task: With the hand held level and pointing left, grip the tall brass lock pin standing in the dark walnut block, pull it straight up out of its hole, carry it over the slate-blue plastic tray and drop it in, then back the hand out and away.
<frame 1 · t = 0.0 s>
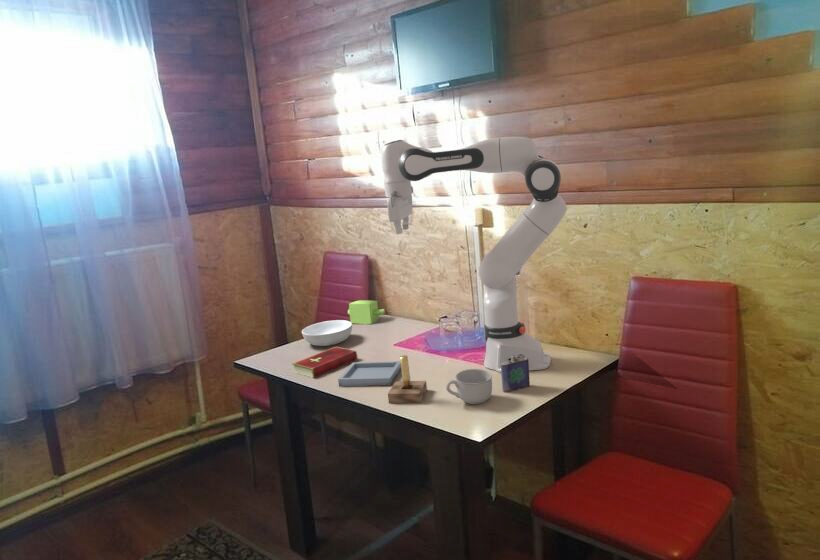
hand: (402, 231, 209), 48 cm above the table, tool pointing down, fingers open, 8 cm apart
teacup: (470, 401, 184), on the table
flask: (516, 389, 189), on the table
tray: (371, 376, 212), on the table
lock pin: (406, 376, 191), in the pin block
serving bowl: (329, 343, 258), on the table
hardcover book: (326, 367, 229), on the table
pin block: (408, 396, 192), on the table
gearbox: (367, 321, 284), on the table
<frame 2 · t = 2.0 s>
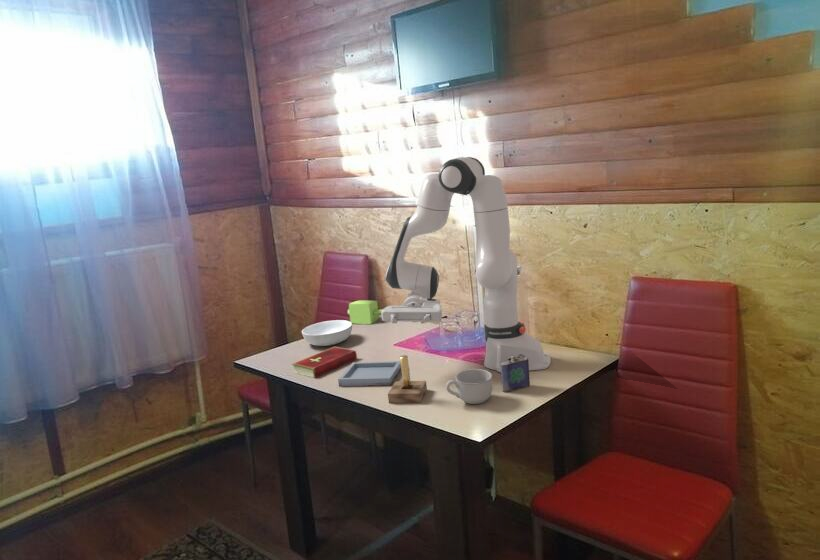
hand: (408, 321, 199), 21 cm above the table, tool horizontal, fingers open, 8 cm apart
nothing on the table moved.
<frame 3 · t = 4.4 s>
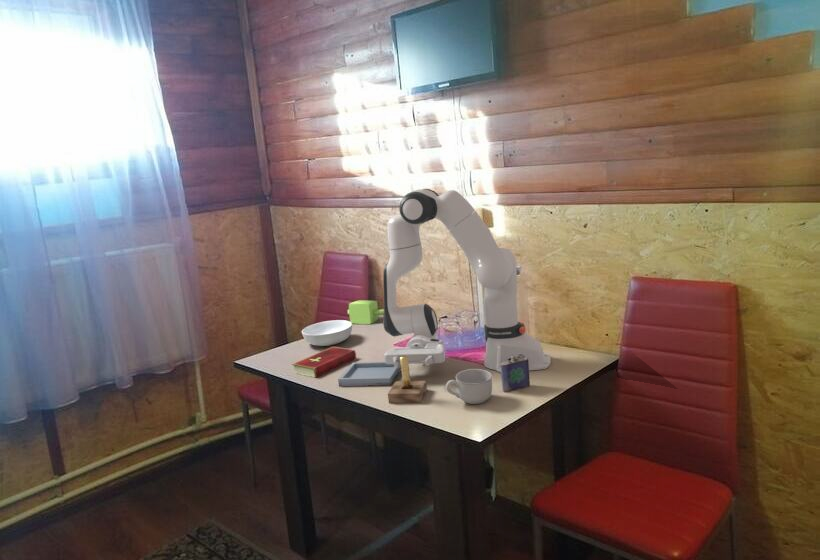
hand: (410, 363, 197), 8 cm above the table, tool horizontal, fingers open, 8 cm apart
nothing on the table moved.
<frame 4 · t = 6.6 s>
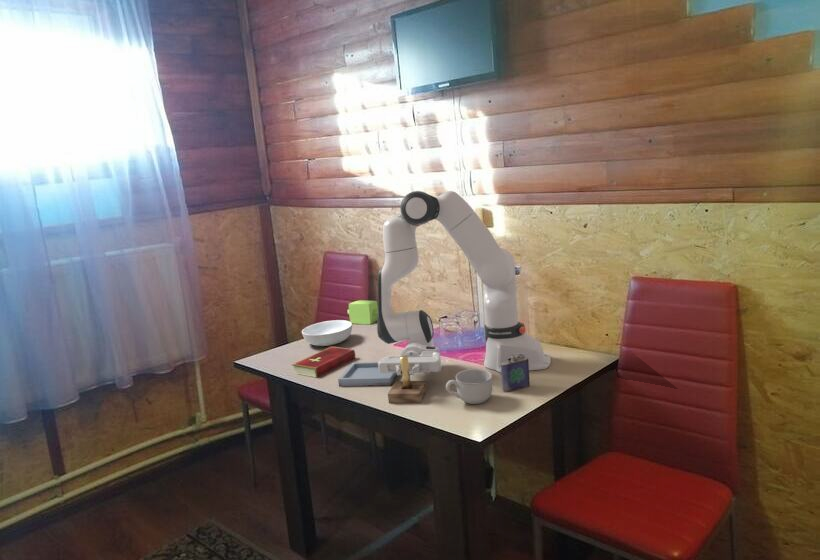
hand: (404, 372, 190), 8 cm above the table, tool horizontal, fingers closed on lock pin, 2 cm apart
lock pin: (406, 376, 191), in the pin block, touching gripper
everything else where it was.
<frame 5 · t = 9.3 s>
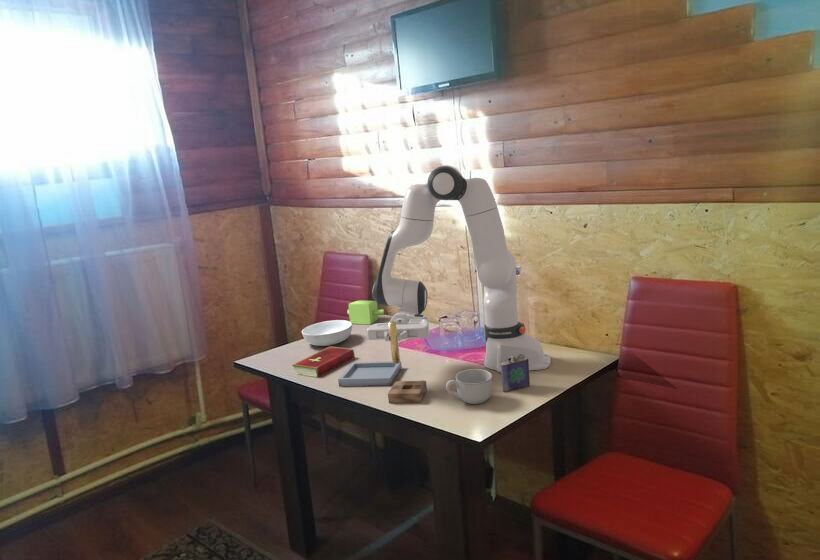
hand: (393, 338, 191), 18 cm above the table, tool horizontal, fingers closed on lock pin, 2 cm apart
lock pin: (394, 342, 193), point 17 cm above the table, touching gripper
when the fingers open (11 cm above the table, at t = 12.0 s): lock pin drops 1 cm, resting on tray.
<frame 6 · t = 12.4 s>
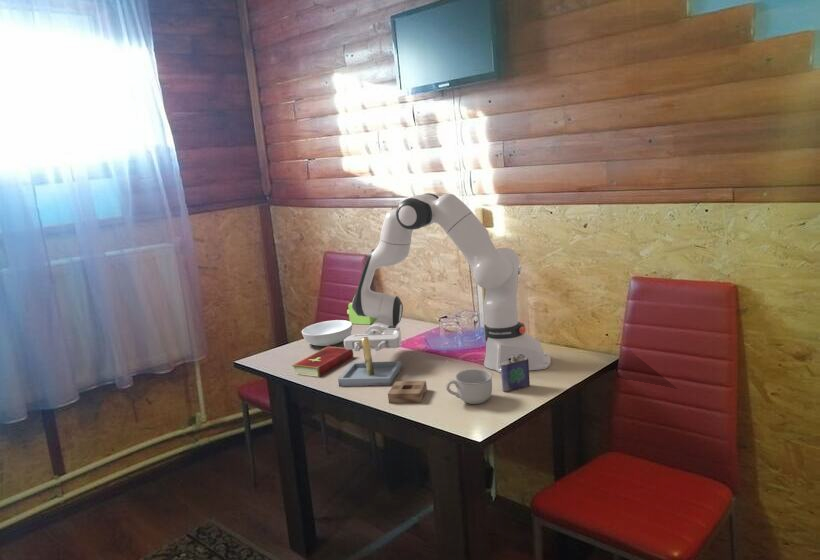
hand: (366, 348, 209), 11 cm above the table, tool horizontal, fingers open, 6 cm apart
lock pin: (367, 356, 211), in the tray, point 8 cm above the table
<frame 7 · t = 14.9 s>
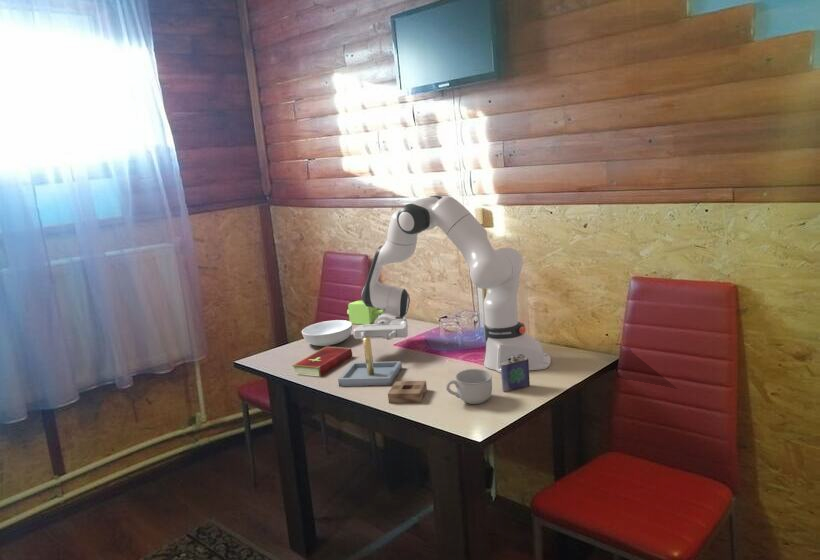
hand: (375, 338, 220), 11 cm above the table, tool horizontal, fingers open, 8 cm apart
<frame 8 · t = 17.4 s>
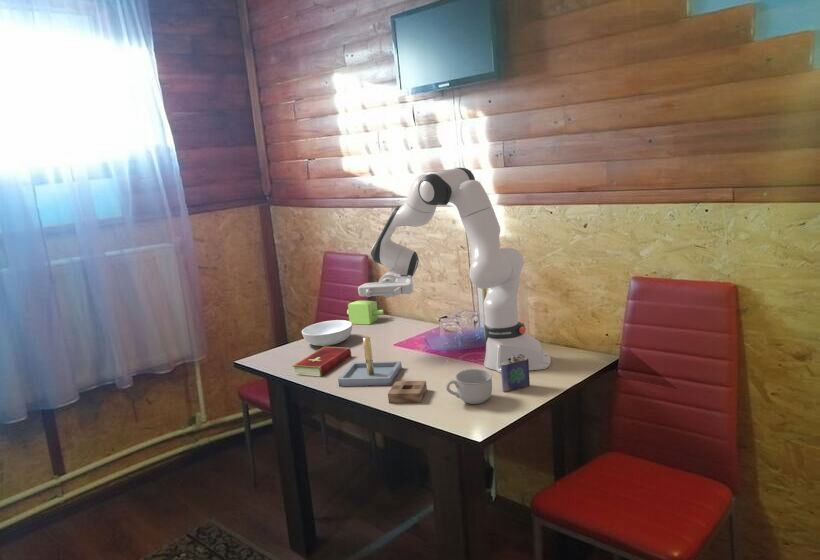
hand: (380, 293, 219), 26 cm above the table, tool horizontal, fingers open, 8 cm apart
at the end: lock pin inside the target area on the tray (0.1 cm from its centre), point 7.5 cm above the tray's base; lock pin touching tray; the gripper is holding nothing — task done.
